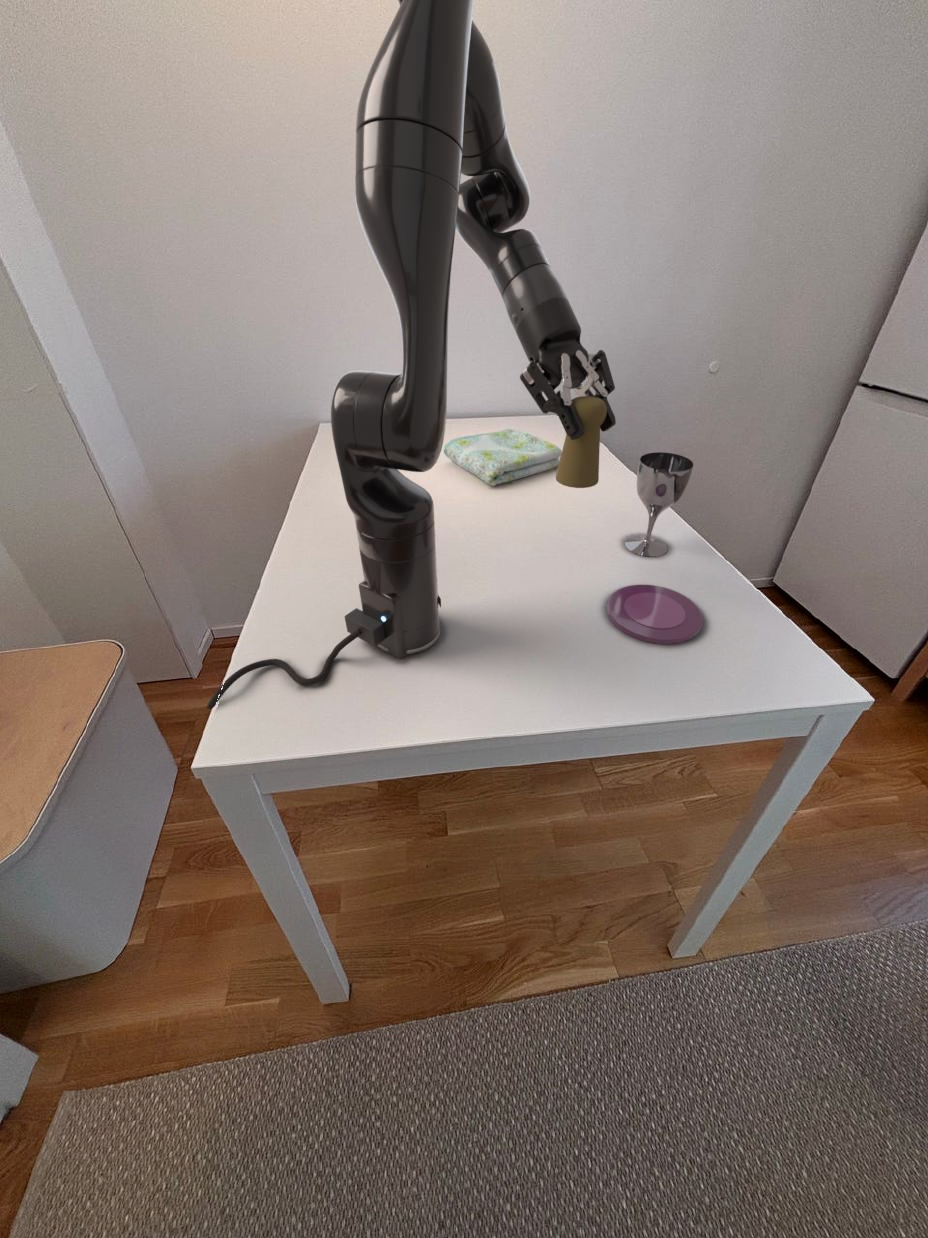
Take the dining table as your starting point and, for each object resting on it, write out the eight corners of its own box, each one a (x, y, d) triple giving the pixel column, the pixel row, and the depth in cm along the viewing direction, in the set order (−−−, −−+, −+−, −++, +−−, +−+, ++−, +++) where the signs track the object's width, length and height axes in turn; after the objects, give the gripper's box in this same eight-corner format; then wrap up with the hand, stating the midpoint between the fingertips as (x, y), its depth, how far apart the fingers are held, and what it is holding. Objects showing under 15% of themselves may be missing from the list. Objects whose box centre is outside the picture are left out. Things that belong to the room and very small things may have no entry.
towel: (564, 466, 117) (567, 444, 114) (488, 489, 107) (489, 466, 104) (514, 443, 129) (515, 422, 125) (442, 462, 119) (441, 440, 116)
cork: (598, 489, 71) (612, 406, 64) (554, 486, 72) (563, 403, 65) (598, 472, 75) (611, 392, 69) (556, 469, 76) (565, 390, 69)
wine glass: (662, 562, 85) (686, 475, 76) (615, 549, 88) (633, 465, 79) (675, 542, 90) (698, 458, 81) (630, 530, 94) (648, 448, 84)
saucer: (683, 657, 67) (685, 652, 66) (591, 620, 73) (592, 615, 73) (712, 608, 75) (714, 603, 75) (627, 579, 81) (629, 574, 81)
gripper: (513, 298, 61) (572, 427, 61) (597, 290, 68) (650, 406, 68) (485, 341, 68) (538, 457, 68) (563, 330, 75) (612, 436, 75)
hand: (594, 431), depth 68 cm, fingers closed on cork, 5 cm apart
